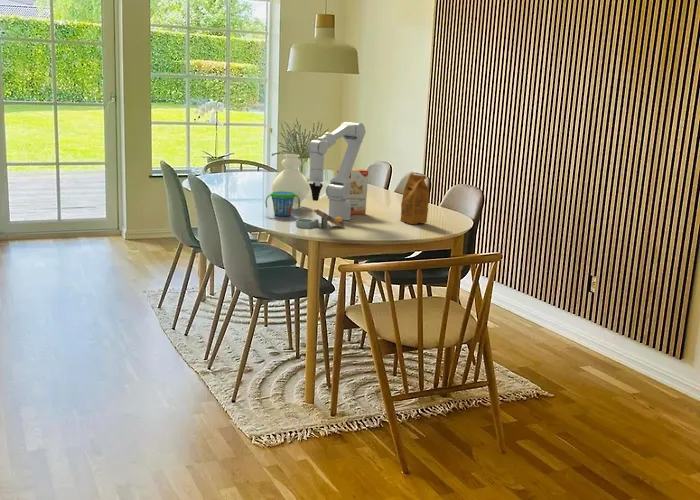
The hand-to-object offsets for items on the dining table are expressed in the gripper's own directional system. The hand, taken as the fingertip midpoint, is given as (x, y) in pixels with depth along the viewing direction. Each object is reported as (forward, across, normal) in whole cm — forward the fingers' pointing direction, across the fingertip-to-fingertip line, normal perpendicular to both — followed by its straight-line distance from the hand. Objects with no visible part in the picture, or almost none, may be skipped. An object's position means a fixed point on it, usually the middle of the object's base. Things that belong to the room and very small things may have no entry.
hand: (315, 200), depth 321 cm
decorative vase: (+10, -41, -8) cm, 43 cm away
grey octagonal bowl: (+10, +7, -5) cm, 13 cm away
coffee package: (+10, -7, +45) cm, 47 cm away
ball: (+7, +7, +10) cm, 14 cm away
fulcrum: (+10, +7, +4) cm, 13 cm away
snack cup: (+10, -18, -13) cm, 24 cm away
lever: (+7, +4, +5) cm, 9 cm away
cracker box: (+10, -26, +19) cm, 34 cm away
